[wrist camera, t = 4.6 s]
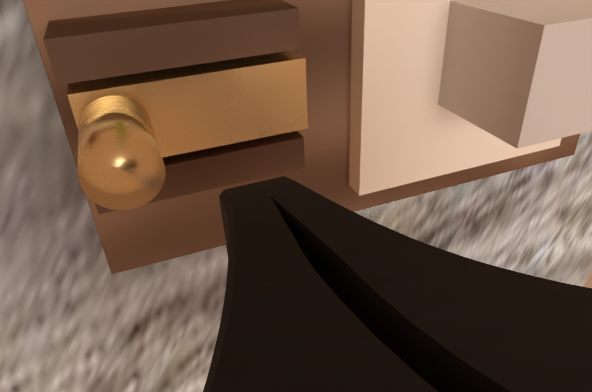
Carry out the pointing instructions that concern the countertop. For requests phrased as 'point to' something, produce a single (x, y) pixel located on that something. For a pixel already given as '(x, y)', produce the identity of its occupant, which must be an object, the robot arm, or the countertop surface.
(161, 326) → the countertop surface
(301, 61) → the brass bolt
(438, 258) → the robot arm
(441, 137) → the cover
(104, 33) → the box base
